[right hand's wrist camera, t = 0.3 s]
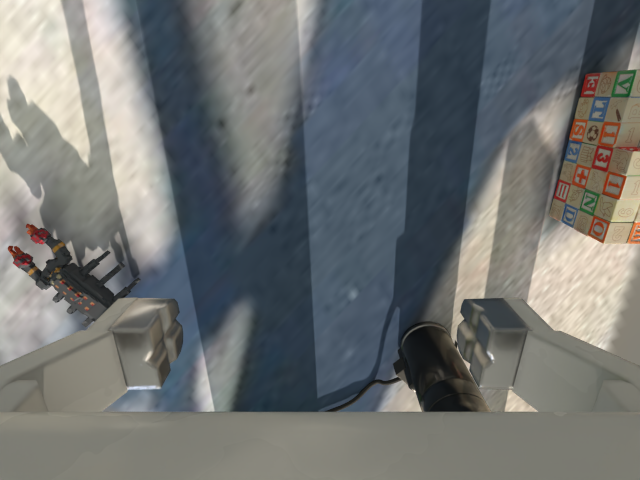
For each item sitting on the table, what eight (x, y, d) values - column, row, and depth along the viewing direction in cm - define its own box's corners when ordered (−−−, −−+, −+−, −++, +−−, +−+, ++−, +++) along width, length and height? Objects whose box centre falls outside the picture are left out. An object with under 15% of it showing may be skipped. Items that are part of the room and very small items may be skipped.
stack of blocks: (583, 73, 51) (660, 65, 39) (627, 72, 51) (717, 65, 39) (548, 216, 59) (604, 245, 47) (586, 216, 59) (651, 245, 47)
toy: (130, 351, 69) (67, 434, 52) (8, 251, 61) (-113, 310, 44) (178, 314, 65) (128, 390, 48) (56, 203, 58) (-54, 248, 41)
